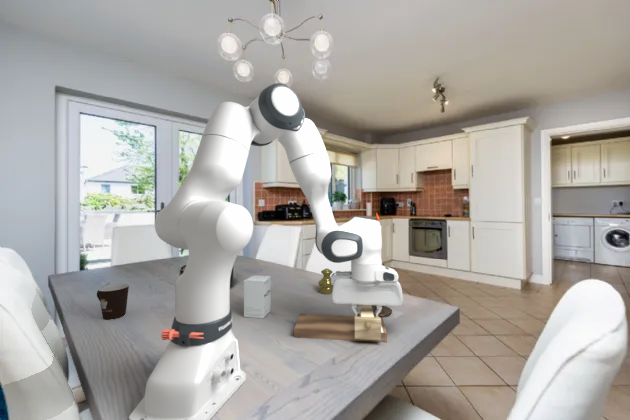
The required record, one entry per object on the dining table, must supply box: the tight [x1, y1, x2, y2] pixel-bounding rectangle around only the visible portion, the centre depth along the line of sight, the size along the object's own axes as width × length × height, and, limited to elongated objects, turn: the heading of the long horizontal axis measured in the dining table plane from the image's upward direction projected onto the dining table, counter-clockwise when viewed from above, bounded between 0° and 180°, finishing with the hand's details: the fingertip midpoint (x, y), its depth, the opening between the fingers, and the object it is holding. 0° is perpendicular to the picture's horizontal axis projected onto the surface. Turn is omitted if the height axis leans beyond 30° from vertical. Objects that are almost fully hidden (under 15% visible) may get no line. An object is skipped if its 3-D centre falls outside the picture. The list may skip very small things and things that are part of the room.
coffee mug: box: [96, 283, 130, 321], centre depth 97 cm, size 12×9×10 cm
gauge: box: [355, 305, 381, 340], centre depth 80 cm, size 12×7×6 cm, turn 173°
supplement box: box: [243, 275, 272, 319], centre depth 97 cm, size 7×7×13 cm
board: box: [293, 313, 388, 343], centre depth 83 cm, size 11×26×3 cm, turn 83°
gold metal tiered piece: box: [317, 268, 333, 295], centre depth 121 cm, size 7×7×10 cm
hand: (366, 319), depth 81 cm, fingers closed on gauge, 3 cm apart
